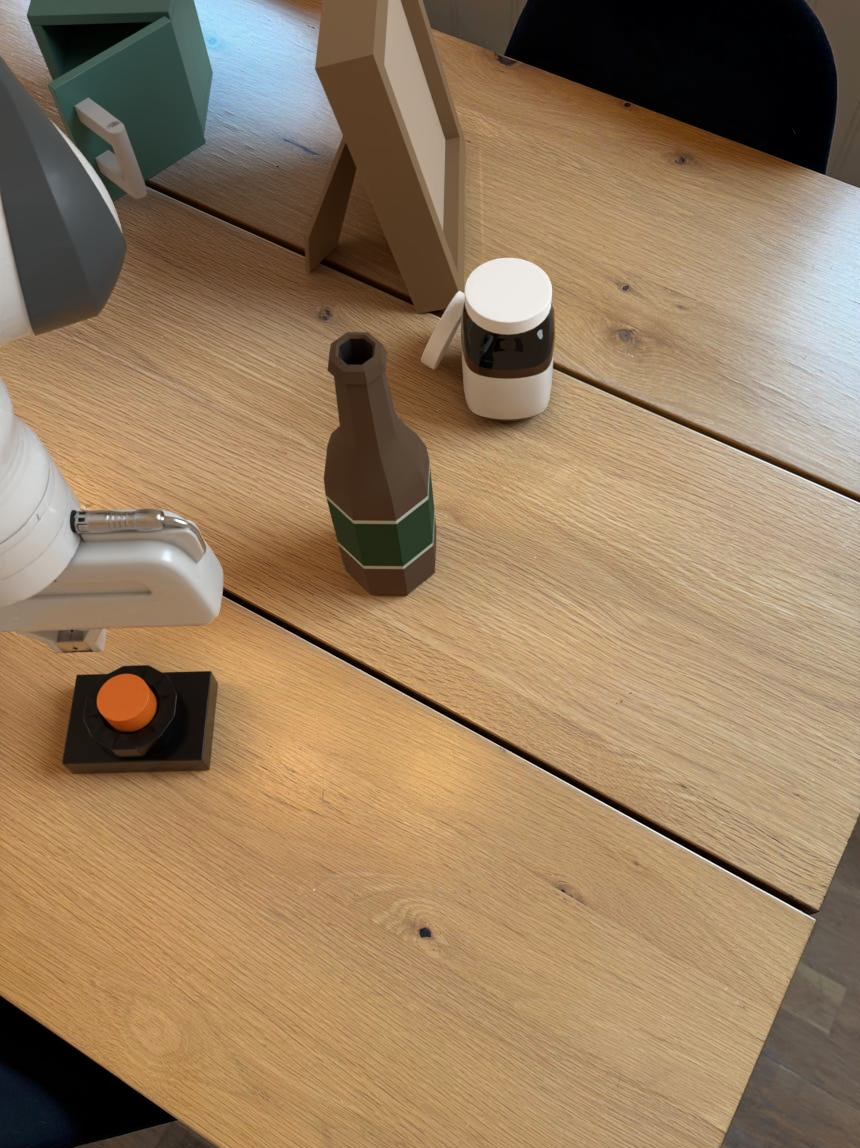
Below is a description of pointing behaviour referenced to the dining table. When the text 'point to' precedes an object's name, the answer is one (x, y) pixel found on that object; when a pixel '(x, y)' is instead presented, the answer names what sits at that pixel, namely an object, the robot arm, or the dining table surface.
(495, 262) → the spread jar
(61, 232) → the robot arm
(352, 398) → the beer bottle
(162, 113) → the fridge door
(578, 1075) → the dining table surface
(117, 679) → the orange button
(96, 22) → the minifridge
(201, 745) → the button panel
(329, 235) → the photo frame
